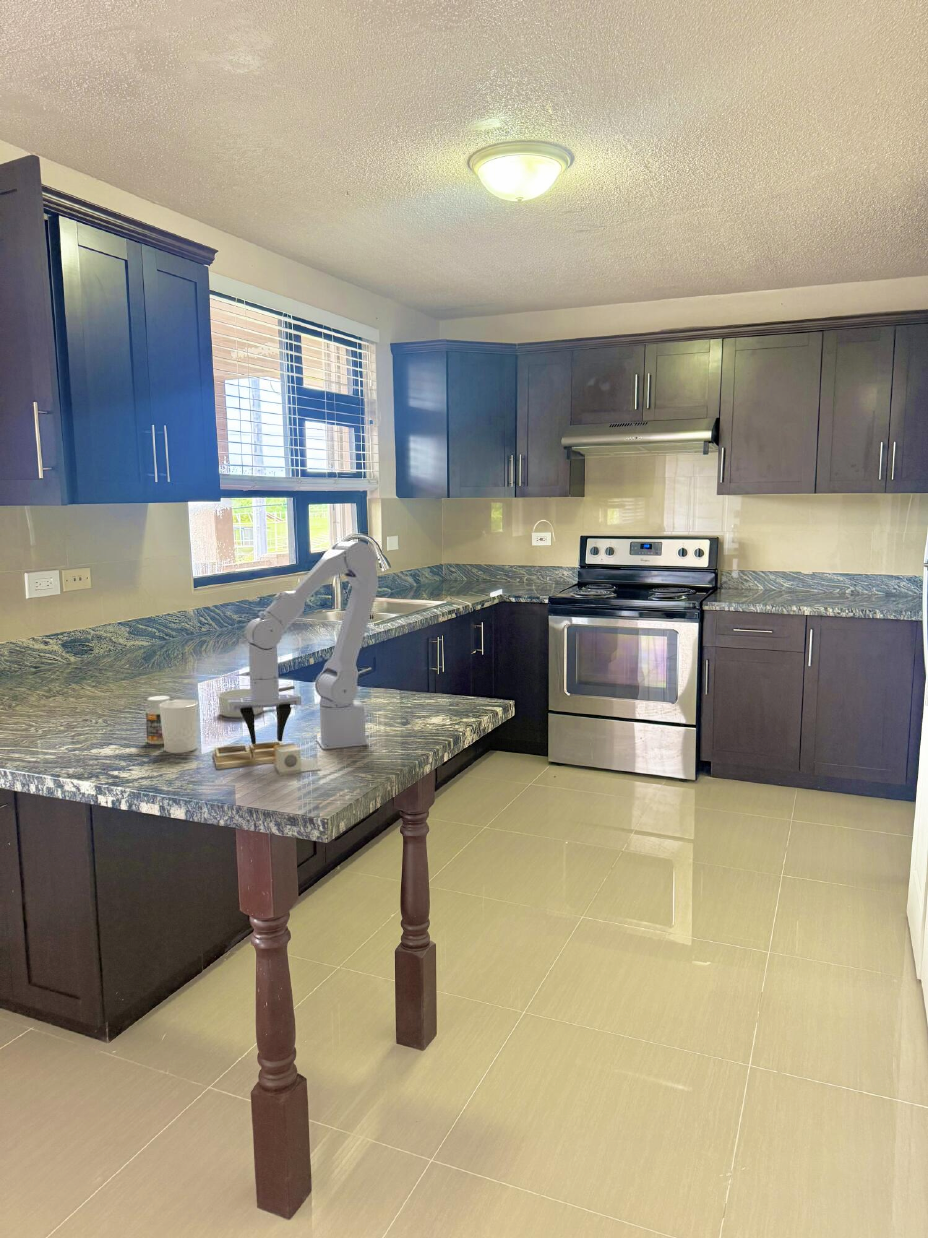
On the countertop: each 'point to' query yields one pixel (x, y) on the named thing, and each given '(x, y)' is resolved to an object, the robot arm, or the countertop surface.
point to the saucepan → (238, 694)
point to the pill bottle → (154, 719)
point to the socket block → (244, 754)
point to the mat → (303, 767)
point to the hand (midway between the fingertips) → (266, 741)
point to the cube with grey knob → (287, 757)
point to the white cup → (179, 725)
